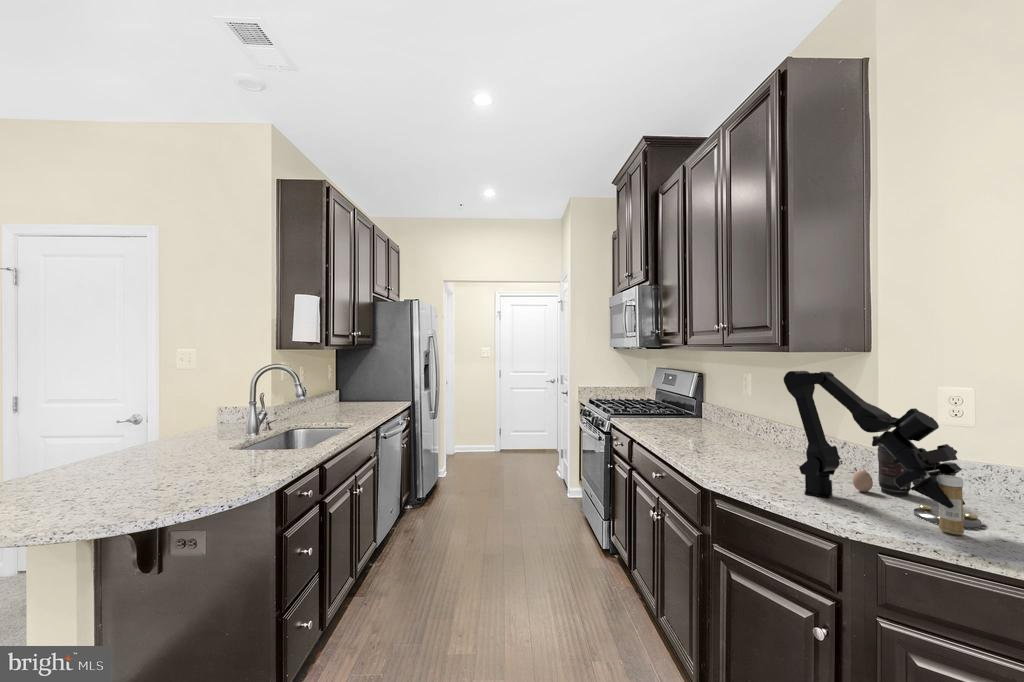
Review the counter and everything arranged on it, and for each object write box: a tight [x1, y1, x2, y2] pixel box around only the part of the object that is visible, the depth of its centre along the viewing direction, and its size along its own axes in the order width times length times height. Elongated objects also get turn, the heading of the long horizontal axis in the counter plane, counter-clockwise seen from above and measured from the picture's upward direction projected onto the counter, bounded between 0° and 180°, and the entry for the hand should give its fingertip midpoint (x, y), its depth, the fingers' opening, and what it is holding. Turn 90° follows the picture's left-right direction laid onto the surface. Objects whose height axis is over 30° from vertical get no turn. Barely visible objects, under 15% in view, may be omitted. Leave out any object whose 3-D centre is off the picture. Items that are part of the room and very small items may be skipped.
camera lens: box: [877, 445, 912, 497], centre depth 144 cm, size 8×8×15 cm
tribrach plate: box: [913, 504, 983, 529], centre depth 121 cm, size 13×13×2 cm
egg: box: [852, 469, 874, 493], centre depth 145 cm, size 5×5×7 cm
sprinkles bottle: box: [937, 475, 965, 535], centre depth 112 cm, size 5×5×13 cm
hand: (957, 506), depth 111 cm, fingers closed on sprinkles bottle, 4 cm apart
